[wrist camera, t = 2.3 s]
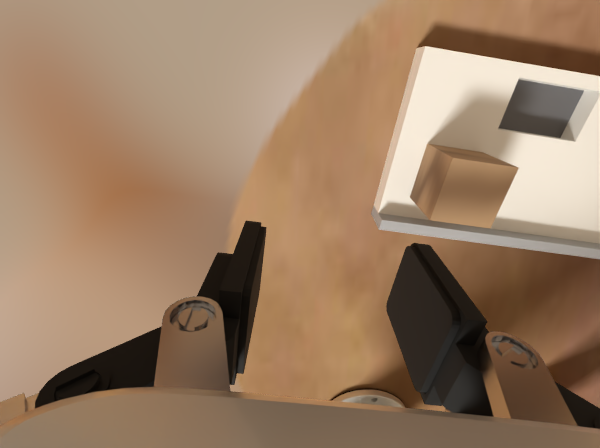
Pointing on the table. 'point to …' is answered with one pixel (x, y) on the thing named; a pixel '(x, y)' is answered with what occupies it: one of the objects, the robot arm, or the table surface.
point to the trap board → (502, 149)
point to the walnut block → (461, 185)
